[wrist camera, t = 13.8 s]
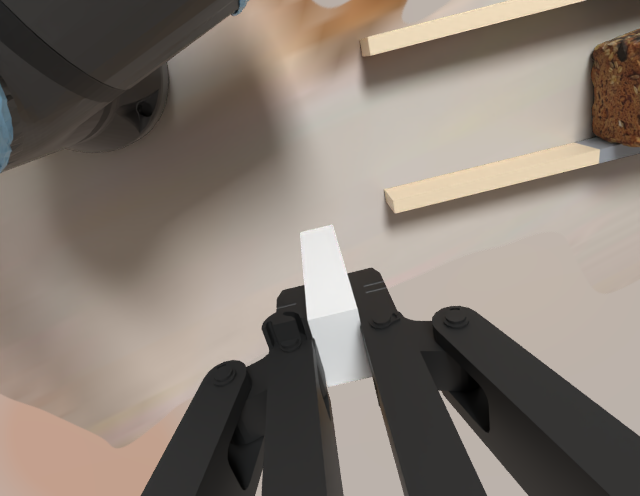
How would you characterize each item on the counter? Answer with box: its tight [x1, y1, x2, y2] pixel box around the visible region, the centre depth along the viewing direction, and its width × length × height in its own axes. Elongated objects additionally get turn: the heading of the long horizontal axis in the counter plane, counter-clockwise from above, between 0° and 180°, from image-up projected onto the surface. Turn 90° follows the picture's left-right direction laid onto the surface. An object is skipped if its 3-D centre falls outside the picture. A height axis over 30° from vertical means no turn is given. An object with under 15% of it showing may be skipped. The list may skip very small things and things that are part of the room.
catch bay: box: [360, 0, 640, 213], centre depth 39 cm, size 17×46×4 cm, turn 103°
